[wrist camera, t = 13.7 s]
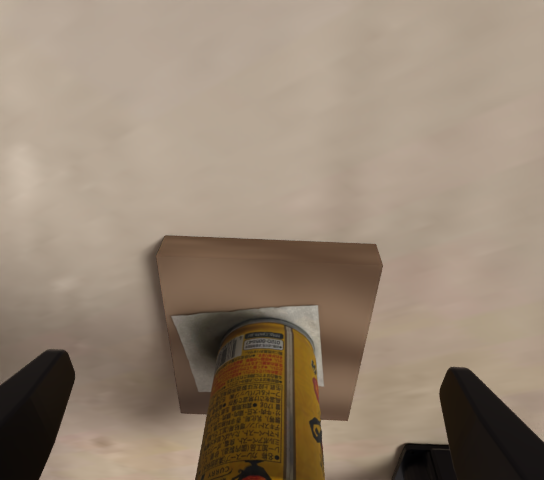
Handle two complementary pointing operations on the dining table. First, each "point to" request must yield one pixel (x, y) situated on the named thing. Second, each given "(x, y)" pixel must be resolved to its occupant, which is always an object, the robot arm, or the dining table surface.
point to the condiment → (258, 392)
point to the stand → (274, 300)
